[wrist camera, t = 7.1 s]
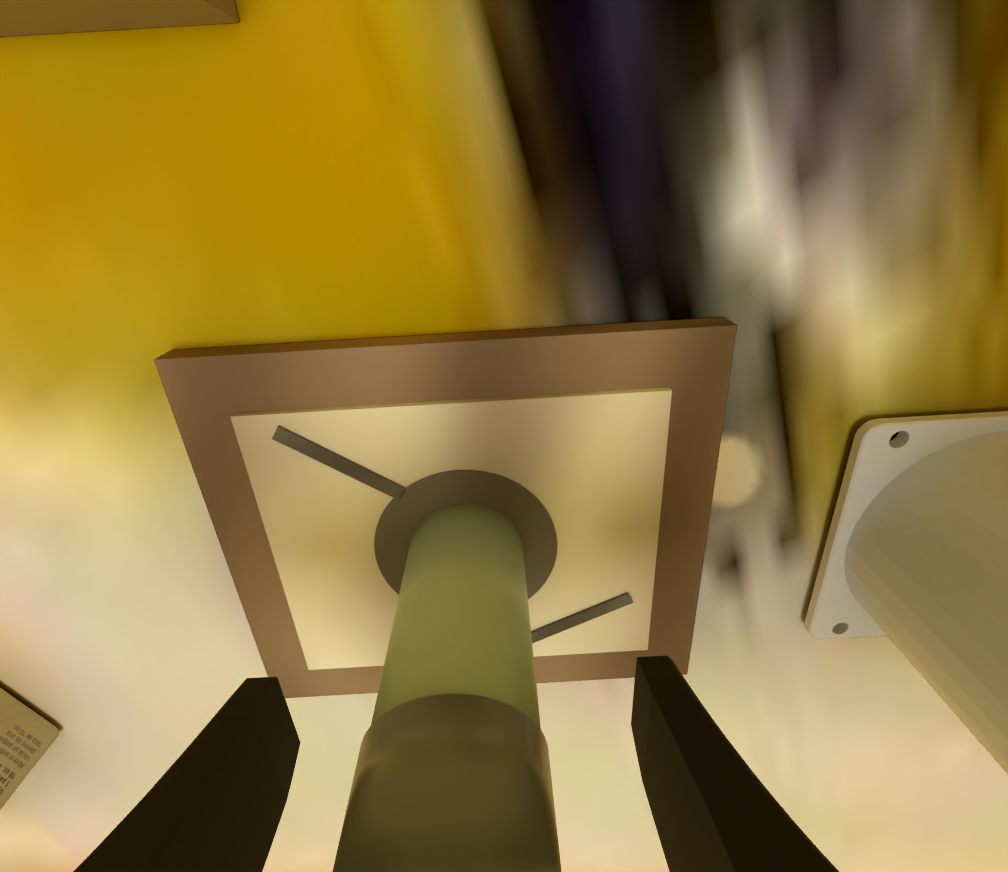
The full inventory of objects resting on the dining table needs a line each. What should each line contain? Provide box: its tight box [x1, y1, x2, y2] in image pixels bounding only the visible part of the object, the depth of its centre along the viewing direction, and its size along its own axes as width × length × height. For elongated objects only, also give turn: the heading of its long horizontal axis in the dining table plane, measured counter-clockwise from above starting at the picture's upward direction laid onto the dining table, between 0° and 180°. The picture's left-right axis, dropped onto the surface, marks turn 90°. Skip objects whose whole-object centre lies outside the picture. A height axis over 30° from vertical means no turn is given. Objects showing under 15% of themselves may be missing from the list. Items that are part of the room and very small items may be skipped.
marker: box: [333, 503, 561, 872], centre depth 11 cm, size 3×3×8 cm
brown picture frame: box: [154, 317, 737, 698], centre depth 15 cm, size 14×12×1 cm
